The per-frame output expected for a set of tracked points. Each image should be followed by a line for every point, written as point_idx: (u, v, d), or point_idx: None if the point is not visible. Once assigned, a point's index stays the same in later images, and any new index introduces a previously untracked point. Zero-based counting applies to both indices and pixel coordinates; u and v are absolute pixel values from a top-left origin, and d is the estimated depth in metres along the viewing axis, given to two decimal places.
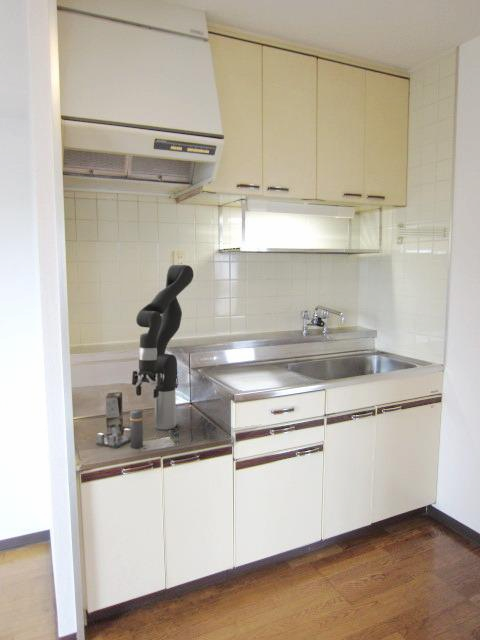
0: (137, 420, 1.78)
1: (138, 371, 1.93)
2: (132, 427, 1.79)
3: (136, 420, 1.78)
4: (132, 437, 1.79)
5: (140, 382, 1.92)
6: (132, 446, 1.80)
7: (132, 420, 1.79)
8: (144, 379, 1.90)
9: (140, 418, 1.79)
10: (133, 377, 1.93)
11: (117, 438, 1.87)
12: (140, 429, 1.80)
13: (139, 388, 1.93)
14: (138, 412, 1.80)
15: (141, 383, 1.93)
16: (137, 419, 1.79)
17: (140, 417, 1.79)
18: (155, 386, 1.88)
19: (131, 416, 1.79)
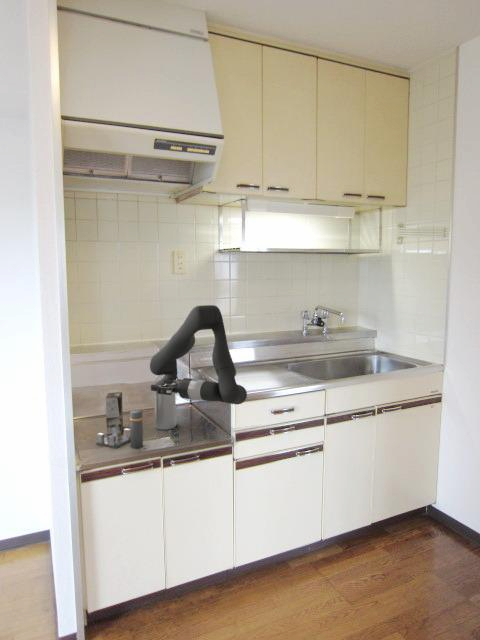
0: (137, 420, 1.78)
1: (173, 390, 1.66)
2: (132, 427, 1.79)
3: (136, 420, 1.78)
4: (132, 437, 1.79)
5: None
6: (132, 446, 1.80)
7: (132, 420, 1.79)
8: None
9: (140, 418, 1.79)
10: None
11: (117, 438, 1.87)
12: (140, 429, 1.80)
13: None
14: (138, 412, 1.80)
15: None
16: (137, 419, 1.79)
17: (140, 417, 1.79)
18: None
19: (131, 416, 1.79)
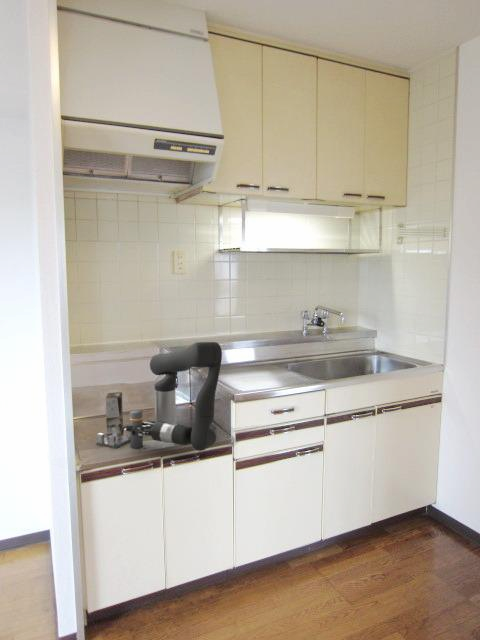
0: (137, 420, 1.78)
1: (144, 433, 1.73)
2: None
3: (136, 420, 1.78)
4: (132, 437, 1.79)
5: None
6: (132, 446, 1.80)
7: (131, 420, 1.79)
8: None
9: (140, 418, 1.79)
10: None
11: (117, 438, 1.87)
12: None
13: None
14: (138, 412, 1.80)
15: None
16: (137, 419, 1.79)
17: (140, 417, 1.79)
18: None
19: (131, 416, 1.79)
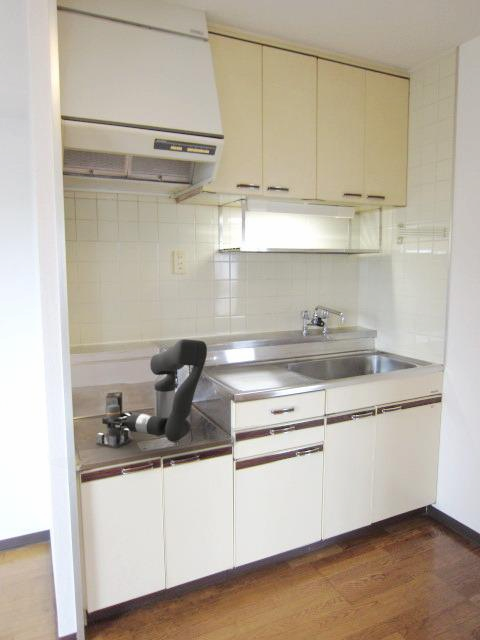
0: (114, 414, 1.83)
1: (122, 425, 1.77)
2: None
3: (113, 414, 1.83)
4: (109, 431, 1.83)
5: None
6: None
7: (109, 414, 1.83)
8: None
9: (117, 412, 1.83)
10: None
11: None
12: None
13: None
14: (115, 406, 1.84)
15: None
16: (114, 413, 1.83)
17: (117, 411, 1.84)
18: None
19: (108, 410, 1.83)
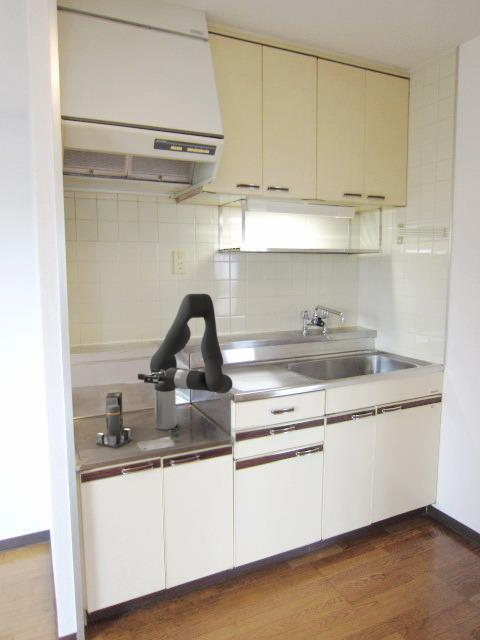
0: (114, 414, 1.83)
1: (159, 379, 1.68)
2: (109, 421, 1.83)
3: (113, 414, 1.82)
4: (109, 431, 1.83)
5: None
6: None
7: (109, 415, 1.83)
8: None
9: (117, 412, 1.83)
10: None
11: None
12: (117, 423, 1.84)
13: None
14: (115, 406, 1.84)
15: None
16: (114, 413, 1.83)
17: (117, 411, 1.83)
18: None
19: (108, 410, 1.83)
